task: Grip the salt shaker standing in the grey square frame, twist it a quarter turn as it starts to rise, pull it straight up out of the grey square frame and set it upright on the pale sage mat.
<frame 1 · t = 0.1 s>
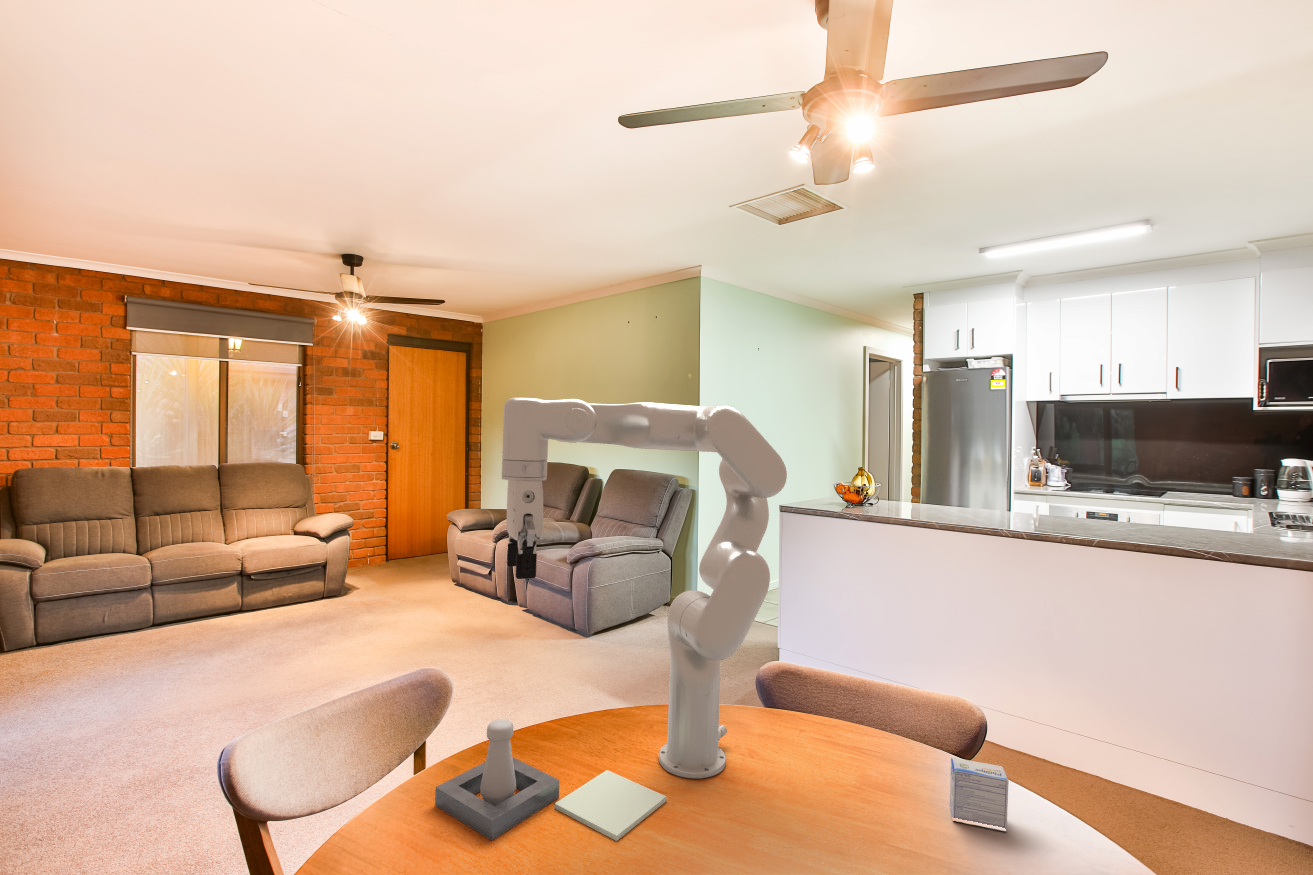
hand: (520, 571, 105), 37 cm above the table, tool pointing down, fingers open, 9 cm apart
grey square frame: (497, 801, 102), on the table
mat: (611, 804, 102), on the table
medicine box: (977, 821, 101), on the table
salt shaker: (497, 802, 102), resting in grey square frame
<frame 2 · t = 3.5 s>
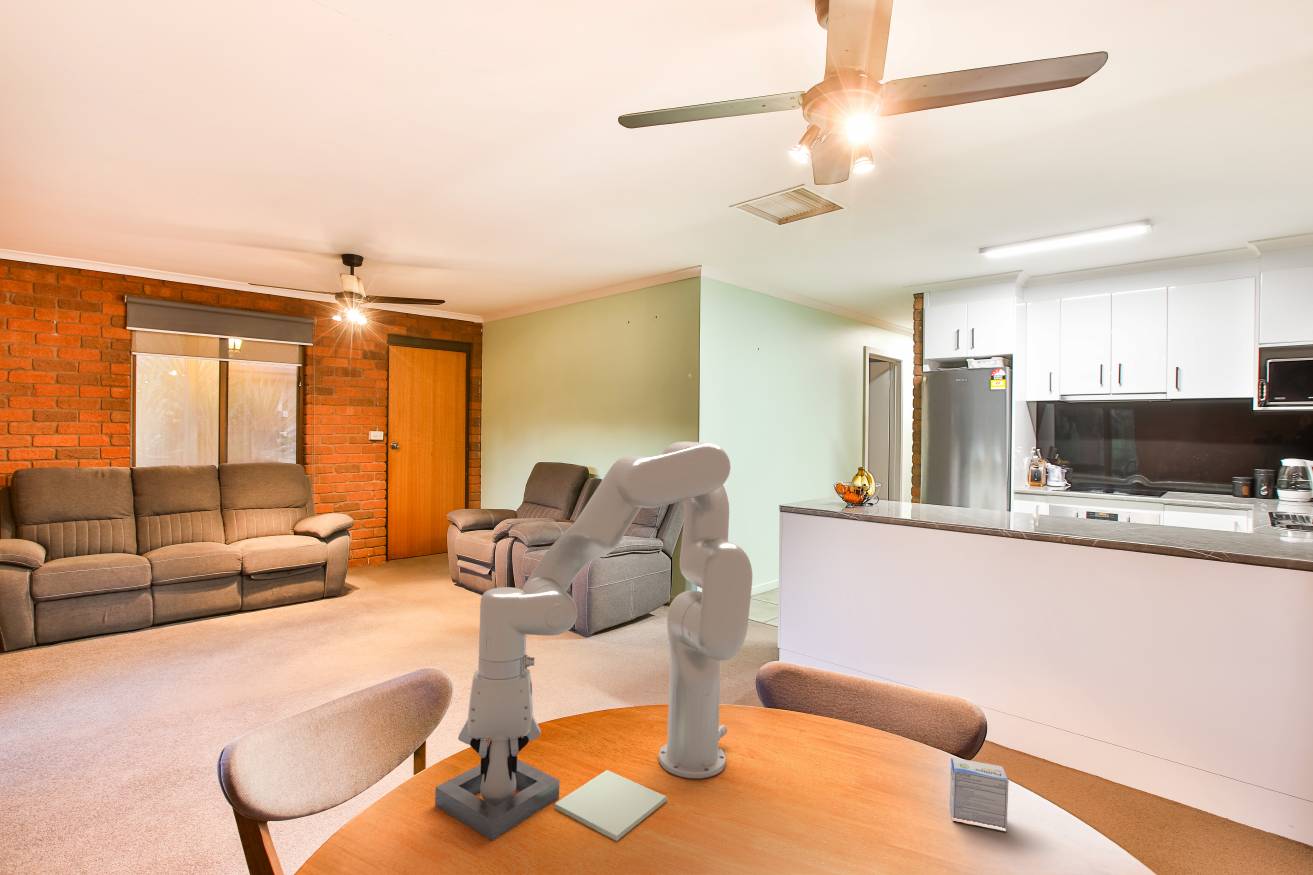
hand: (498, 775, 102), 4 cm above the table, tool pointing down, fingers closed on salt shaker, 3 cm apart
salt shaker: (497, 802, 102), resting in grey square frame, touching gripper
everything else where it was.
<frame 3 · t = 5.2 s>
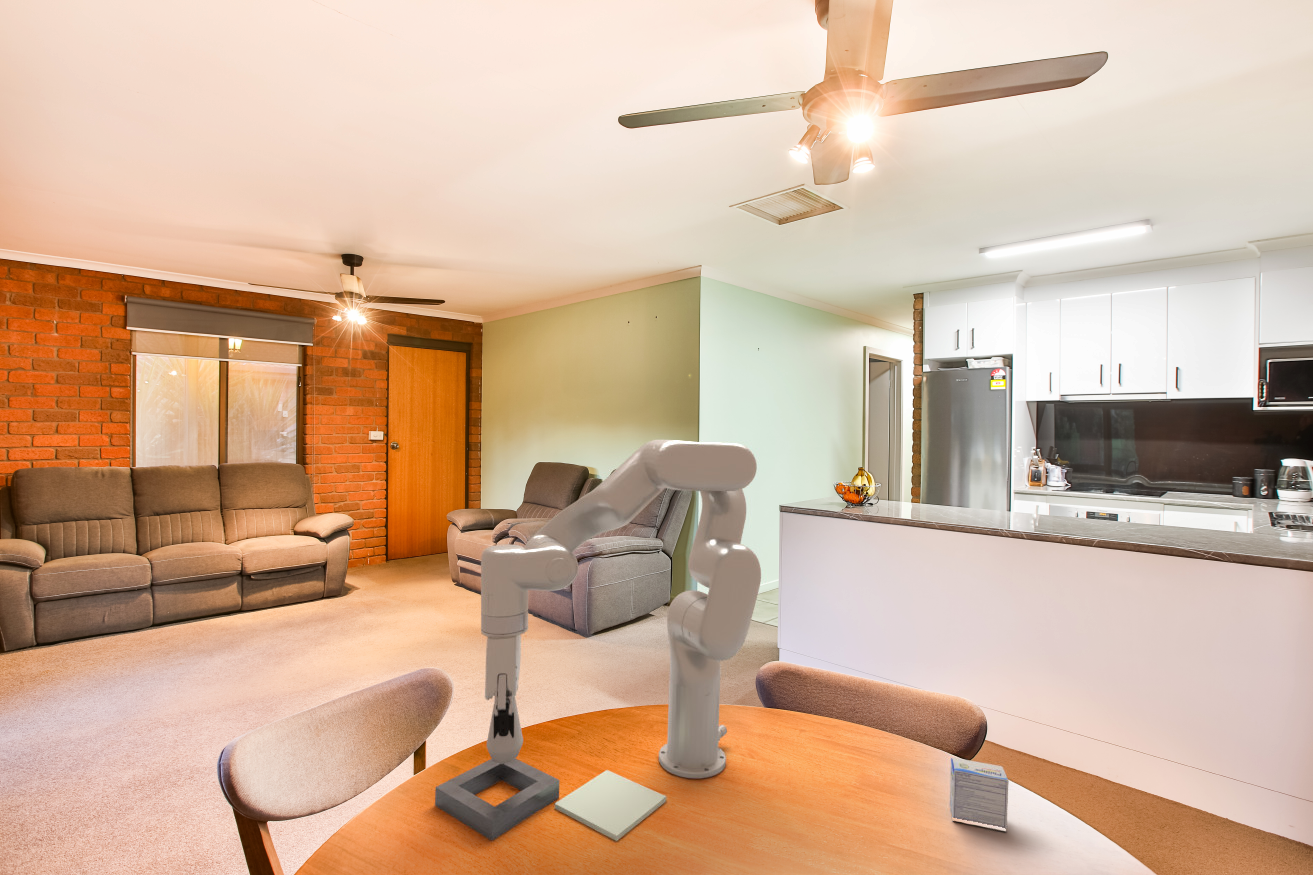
hand: (504, 731, 102), 11 cm above the table, tool pointing down, fingers closed on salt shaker, 3 cm apart
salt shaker: (504, 758, 102), point 7 cm above the table, touching gripper
everything else where it was.
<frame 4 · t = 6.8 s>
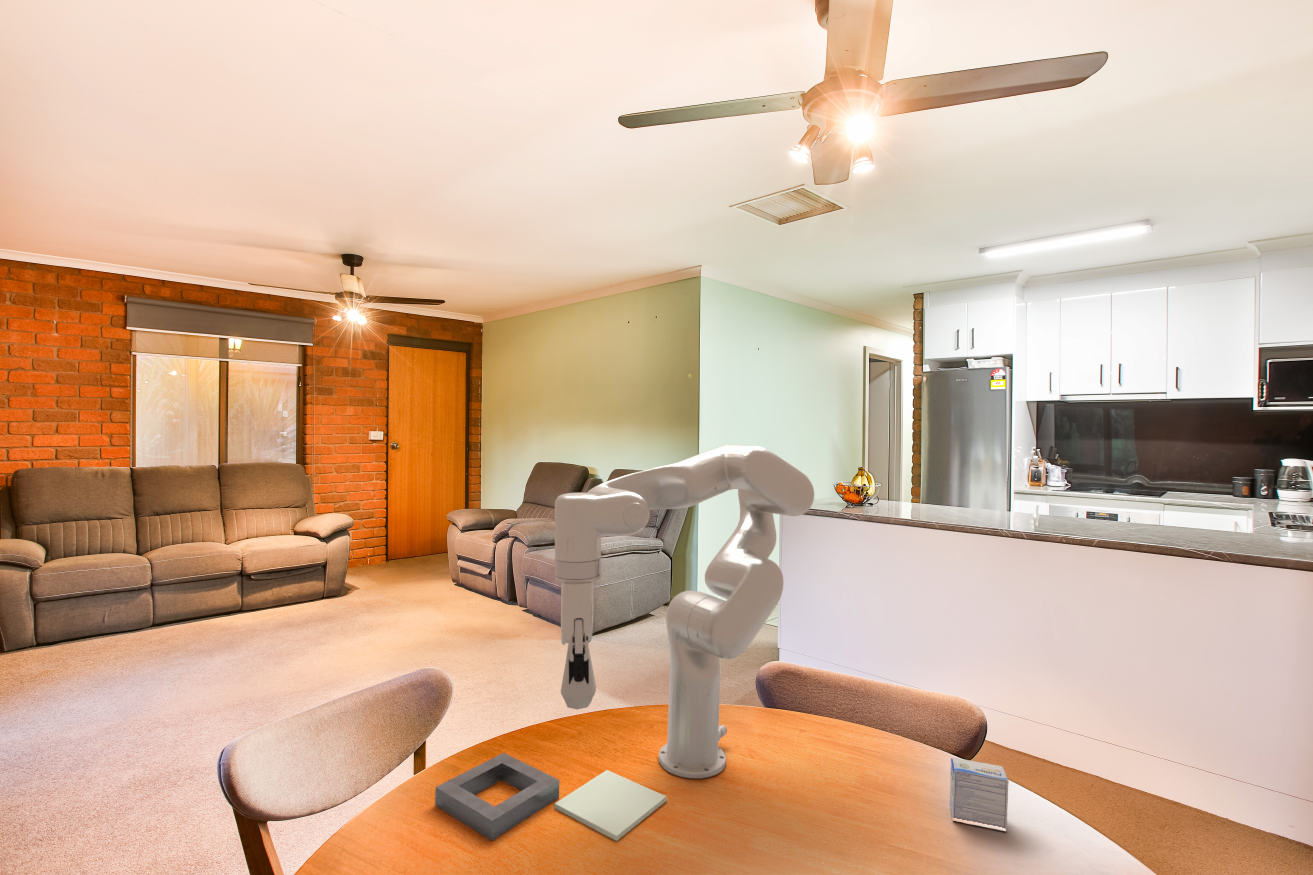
hand: (578, 678, 102), 20 cm above the table, tool pointing down, fingers closed on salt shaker, 3 cm apart
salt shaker: (578, 704, 102), point 16 cm above the table, touching gripper
everything else where it was.
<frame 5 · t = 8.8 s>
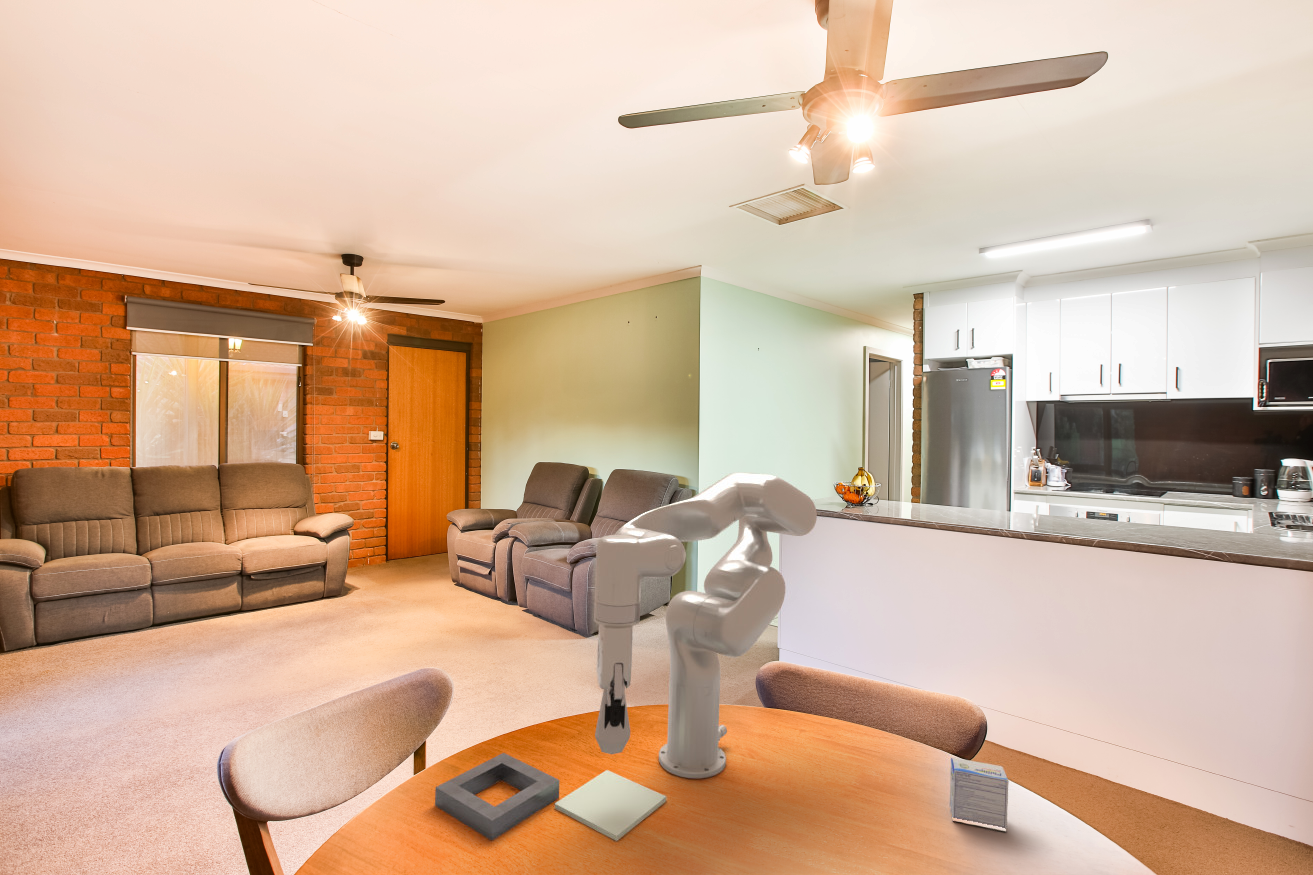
hand: (613, 722, 102), 14 cm above the table, tool pointing down, fingers closed on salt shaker, 3 cm apart
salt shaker: (612, 749, 102), point 9 cm above the table, touching gripper
everything else where it was.
when the fingers open (6 cm above the table, at t = 10.4 s): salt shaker drops 1 cm, resting on mat.
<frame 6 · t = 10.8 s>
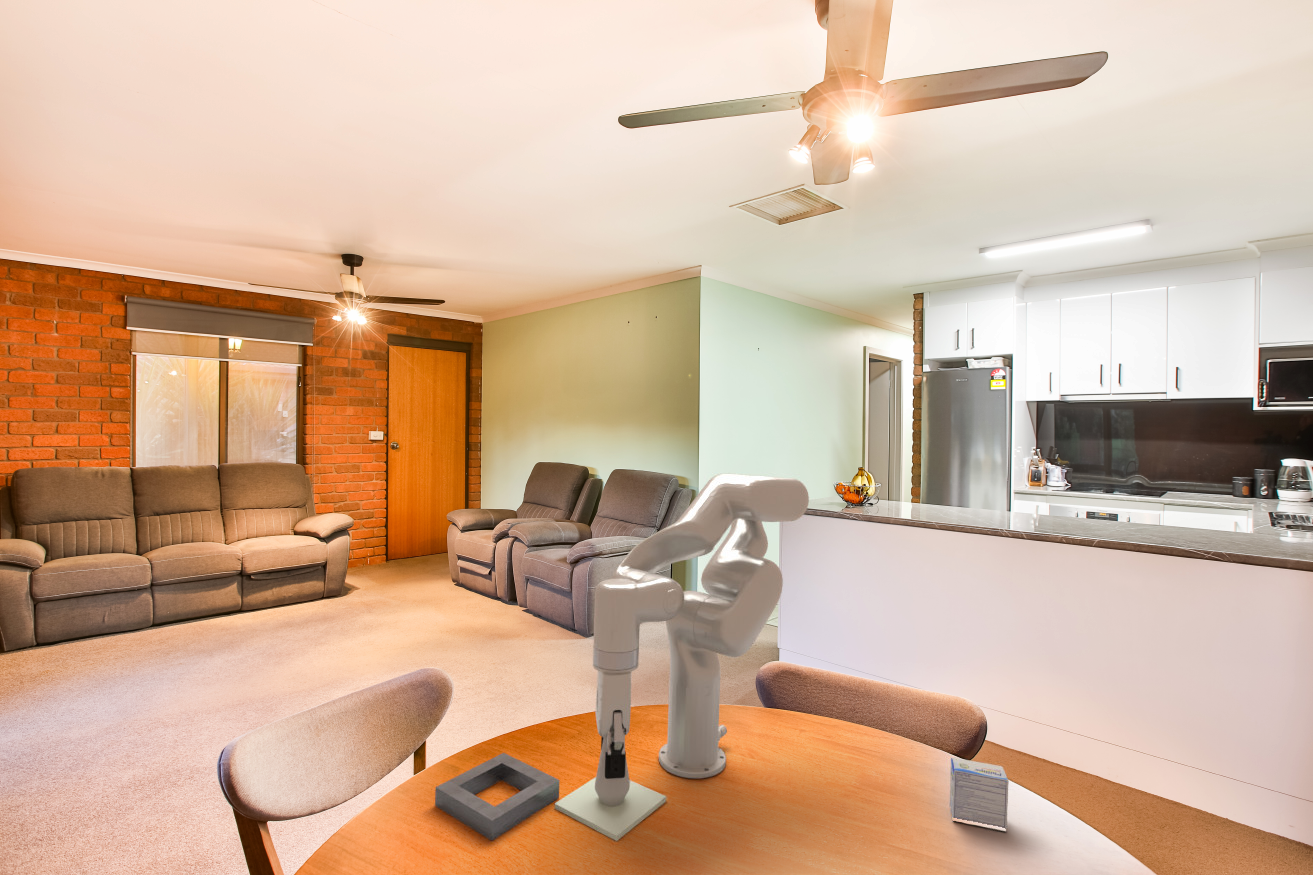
hand: (612, 763, 102), 7 cm above the table, tool pointing down, fingers open, 7 cm apart
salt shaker: (611, 800, 102), point 1 cm above the table, touching mat
everything else where it was.
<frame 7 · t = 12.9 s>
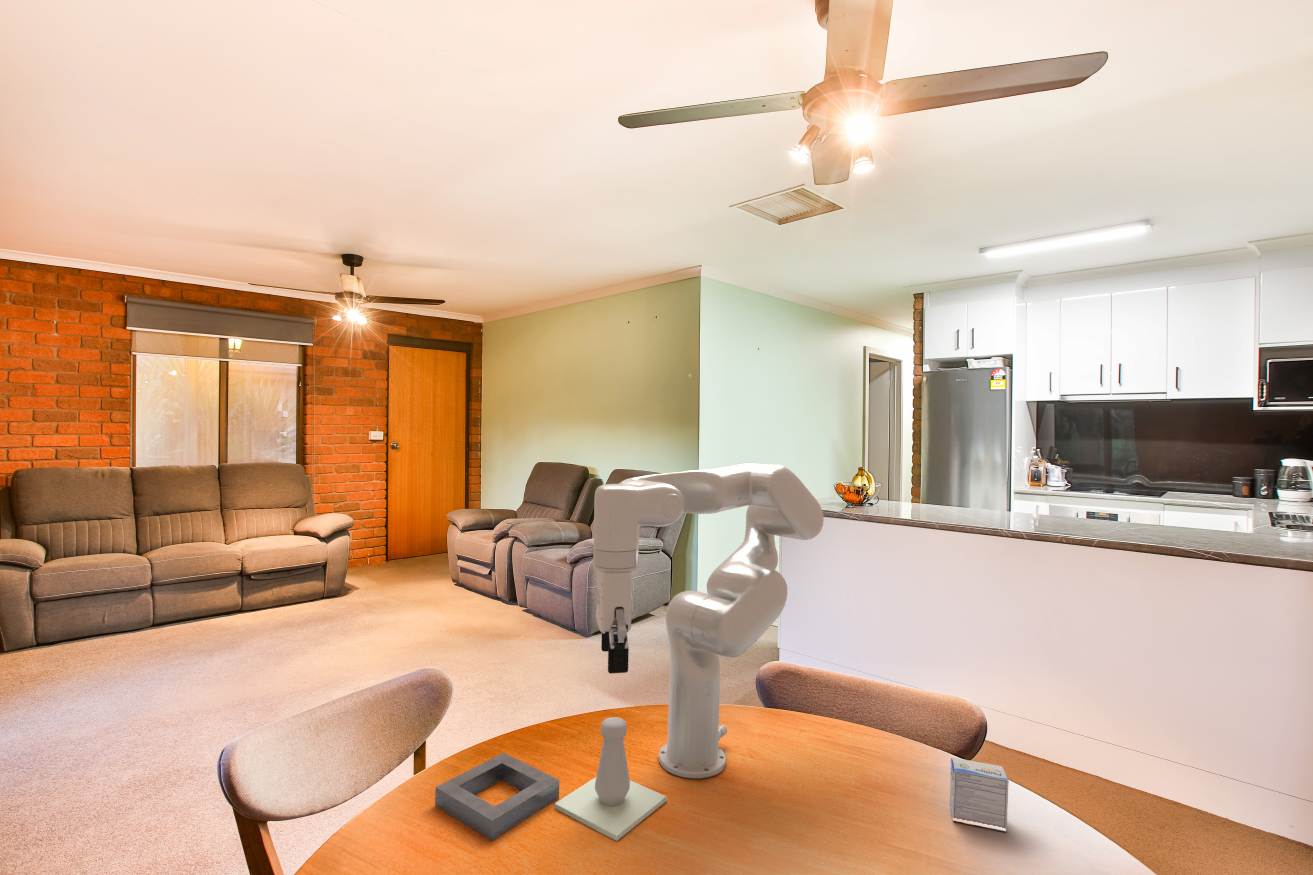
hand: (614, 660, 103), 23 cm above the table, tool pointing down, fingers open, 9 cm apart
nothing on the table moved.
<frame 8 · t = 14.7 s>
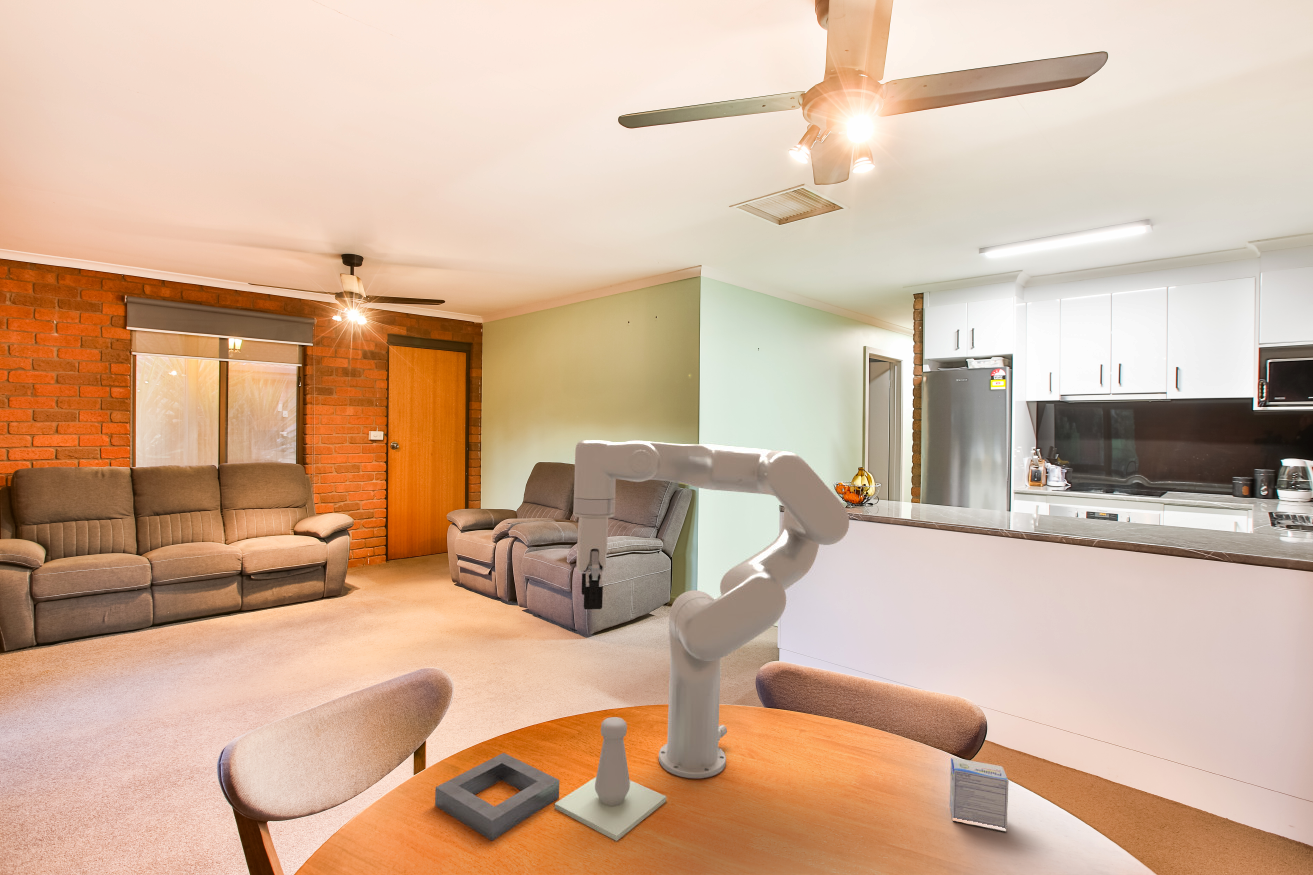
hand: (591, 601, 113), 30 cm above the table, tool pointing down, fingers open, 9 cm apart
nothing on the table moved.
at the end: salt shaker inside the target area on the mat (0.2 cm from its centre), point 0.6 cm above the mat's base; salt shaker tilted 0°; the gripper is holding nothing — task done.
